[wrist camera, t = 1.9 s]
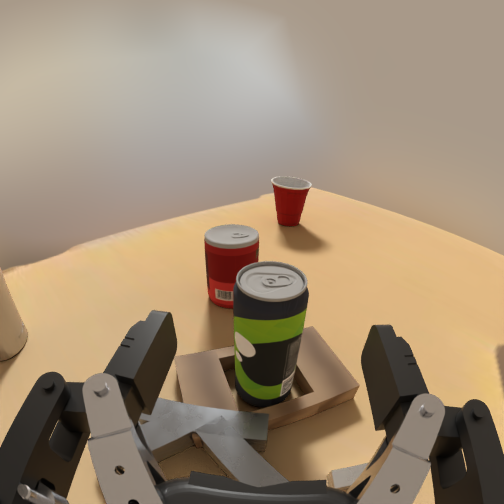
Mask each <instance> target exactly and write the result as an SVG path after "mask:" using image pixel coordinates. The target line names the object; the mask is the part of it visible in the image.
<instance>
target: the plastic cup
mask: <svg viewBox="0 0 504 504" xmlns="http://www.w3.org/2000/svg"><path fill="white" fill-rule="evenodd" d="M271 182H272V184H273V188H274V195H275V204H276V211H277V220H278V223H279V224H281V225H284V226H296V225H298V223H299V221H300V217H301V213H302V211H303V207H304V203H305V200H306V196H307V193H308V191H309V189H310V188H311V186H312V184H311V183H310V182H308V181H306V180H304V179H300V178H296V177H285V176H283V177H275V178H272V180H271Z"/></svg>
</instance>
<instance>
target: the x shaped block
mask: <svg viewBox="0 0 504 504" xmlns="http://www.w3.org/2000/svg"><path fill="white" fill-rule="evenodd" d="M268 420H269V414H267V413H254V412H243V411H233V410H225V409H217V408H210V407H204V406H198V405H192V404H186V403H181V402H176V401H171V400H166V399H162V398H158V399H157V401H156V404H155V406H154V409H153V412H152V414H151V415H147V414H143V413H141V416H140V418H139V422H140V424H141V427H142V429H143V432H144V434H145V437H146V439H147V442H148V444H149V446H150V449H151V451H152V453H153V455H154V457H155V459H156V461H157V463H158V462H160V461H162V460H164V459H166V458H168V457H170V456H173V455H175V454H177V453H179V452H181V451H183V450H185V449H187V448H189V447H191V446H193V445H194V444H195V443H194V440H193V437H192V434H193V433H195V434H197V435H198V436H199V437H200V440H201V443H202V446H203V448H204V449H205V450H206V452H207V453H208V454H209V455H210V456H211V457H212V459H213V460H214V461H215V462H216V463H217V464H218V466H219V467H220V468H221V469H222V470H223V471H224V472H225V473H226V474H227V476H228V477H229V478H230V479H233V480H236V481H239V482H242V483H245V484H248V485H251V486H255V487H264V486H270V485H276V484H281V483H286V482H289V481H288V480H287V479H286V478H285V477H283V476H282V475H281V474H280V473H279V472H278V471H277V470H276V469H274V468H273V467H272V466H271V465H270V464H269V463H268V462H267V461H266V460H265V459H264V458H263V457H262V456H260V455H259V454H258V453H257V452H256V451H265V448H266V442H267V432H268Z"/></svg>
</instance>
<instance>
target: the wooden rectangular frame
mask: <svg viewBox="0 0 504 504" xmlns="http://www.w3.org/2000/svg"><path fill="white" fill-rule="evenodd" d="M174 360H175V365H176V370H177V375H178V380H179V384H180V389H181V393H182V398H183V402H184V403H186V404H192V405H198V406H204V407H210V408H217V409H225V410H233V411H239V410H238V408H237V405H236V403H235V400H234V398H233V395H232V392H231V390H230V387H229V385H228V382H227V379H226V377H225V374H224V371H225V370H230V369H234V368H235V352H234V346H230V347H225V348H220V349H215V350H210V351H204V352H199V353H193V354H187V355H181V356H175V357H174ZM294 379H295V380H296V382H297V383H298V385H299V387H300V388H301V390H302V392H303V393H304V396H301V397H298V398H295V399H292V400H289V401H286V402H283V403H280V404H276V405H273V406H270V407H266V408H263V409H259V410H256V411H252V412H254V413H267V414H269V420H268V430H272V429H275V428H278V427H281V426H284V425H287V424H290V423H293V422H296V421H298V420H301V419H304V418H307V417H309V416H312V415H314V414H317V413H319V412H322V411H324V410H327V409H329V408H332V407H334V406H336V405H338V404H341V403H343V402H345V401H347V400H350V399H352V398H354V396H355V394H356V392H357V390H358V388H359V386H360V385H359V384H358V383H357V381H356V380H355V379H354V378H353V376H352V375H351V374H350V372H349V371H348V370H347V369H346V367H345V366H344V365H343V364H342V362H341V361H340V360H339V359H338V357H337V356H336V355H335V354H334V352H333V351H332V350H331V348H330V347H329V346H328V345H327V343H326V342H325V341H324V340H323V338H322V337H321V336H320V335H319V333H318V332H317V331H316V330H315V328H314V327H313V326H311V327H308V328H304V329H303V332H302V338H301V343H300V348H299V353H298V358H297V363H296V368H295V373H294ZM192 437H193V440H194V443H195V445H196V448H199V447H203V446H202V443H201V440H200V437H199V436H198V435H197V434H195V433H193V434H192Z"/></svg>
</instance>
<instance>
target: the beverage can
mask: <svg viewBox="0 0 504 504" xmlns="http://www.w3.org/2000/svg"><path fill="white" fill-rule="evenodd" d="M308 297H309V292H308V288H307V278H306V276H305V274H304V273H303V272H302V271H301V270H299V269H298V268H296V267H294V266H292V265H289V264H286V263H282V262H274V261H264V262H257V263H253V264H250V265H247V266H245V267H244V268H242V269H241V270H240V271H239V272H238V274H237V277H236V282H235V285H234V288H233V312H234V352H235V383H236V390H237V393H238V394H239V396H240V397H241V398H242V399H243V400H244V401H245V402H247V403H249V404H251V405H254V406H258V407H270V406H273V405H276V404H279V403H281V402H282V401H284V400H285V399H286V398H287V397H288V395H289V393H290V391H291V387H292V382H293V378H294V373H295V368H296V363H297V358H298V353H299V348H300V343H301V338H302V332H303V327H304V321H305V315H306V309H307V303H308Z"/></svg>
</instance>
